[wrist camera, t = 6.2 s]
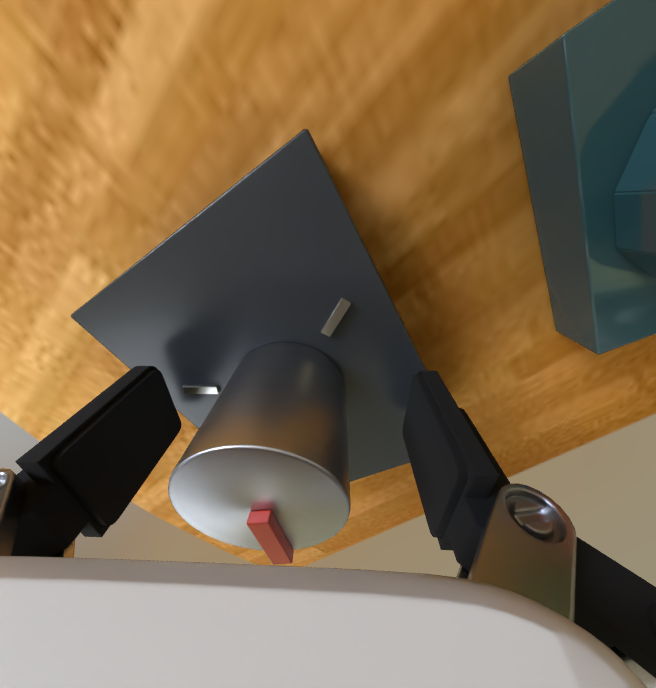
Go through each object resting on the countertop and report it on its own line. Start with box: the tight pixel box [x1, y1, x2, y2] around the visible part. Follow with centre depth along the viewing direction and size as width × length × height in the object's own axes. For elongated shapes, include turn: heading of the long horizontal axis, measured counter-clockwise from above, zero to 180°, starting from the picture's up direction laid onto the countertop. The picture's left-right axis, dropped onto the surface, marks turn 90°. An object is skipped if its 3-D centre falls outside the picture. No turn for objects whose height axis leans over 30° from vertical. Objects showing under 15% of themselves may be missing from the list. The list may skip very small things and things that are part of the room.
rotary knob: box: [168, 342, 350, 564], centre depth 8 cm, size 4×4×5 cm
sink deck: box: [71, 129, 427, 482], centre depth 11 cm, size 13×10×3 cm
